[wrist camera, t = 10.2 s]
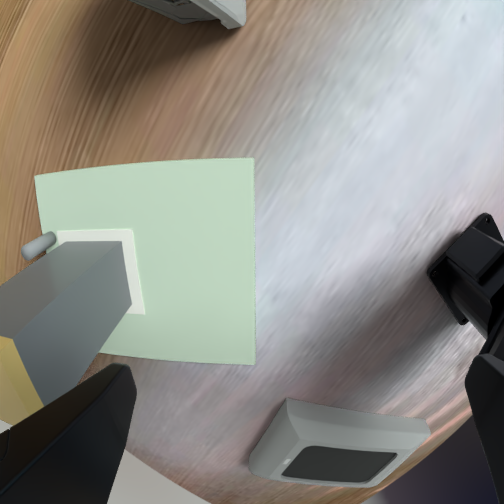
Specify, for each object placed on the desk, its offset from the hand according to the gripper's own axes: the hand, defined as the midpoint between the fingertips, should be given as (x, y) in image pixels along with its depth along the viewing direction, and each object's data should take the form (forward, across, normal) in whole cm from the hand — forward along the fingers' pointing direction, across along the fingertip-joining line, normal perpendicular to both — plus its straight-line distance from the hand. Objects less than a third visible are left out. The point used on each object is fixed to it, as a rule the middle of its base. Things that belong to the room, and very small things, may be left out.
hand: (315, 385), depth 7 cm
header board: (+13, +9, +3) cm, 16 cm away
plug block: (+12, +12, +3) cm, 18 cm away
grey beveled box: (+14, -6, +21) cm, 26 cm away
